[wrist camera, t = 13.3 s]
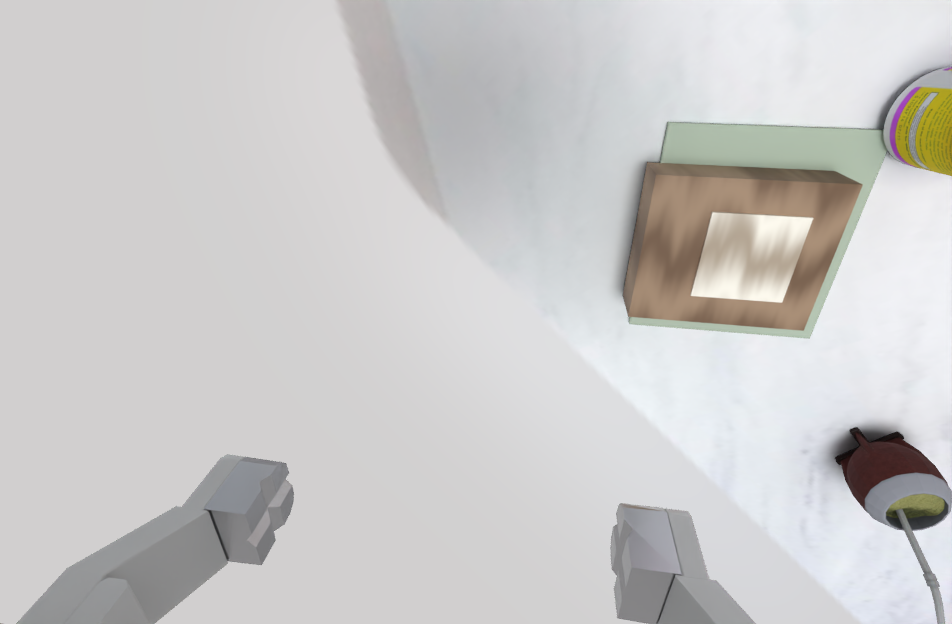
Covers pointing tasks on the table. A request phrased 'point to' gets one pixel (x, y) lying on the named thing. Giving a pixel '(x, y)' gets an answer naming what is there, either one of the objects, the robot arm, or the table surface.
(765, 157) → the mat
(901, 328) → the table surface
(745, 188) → the walnut block
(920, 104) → the supplement bottle
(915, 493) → the mate gourd
